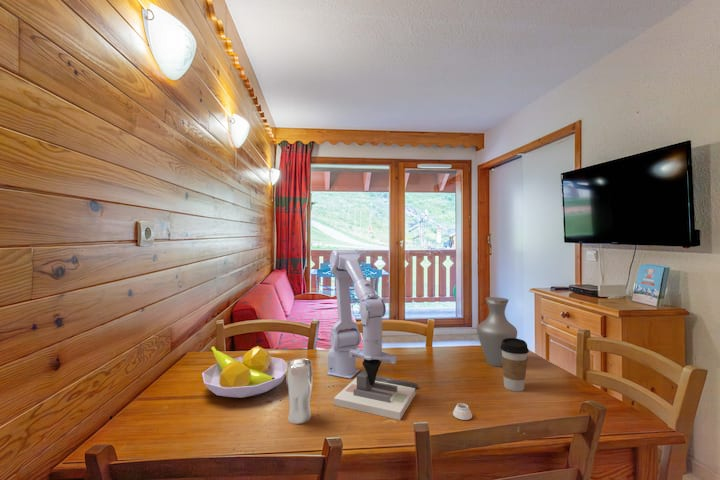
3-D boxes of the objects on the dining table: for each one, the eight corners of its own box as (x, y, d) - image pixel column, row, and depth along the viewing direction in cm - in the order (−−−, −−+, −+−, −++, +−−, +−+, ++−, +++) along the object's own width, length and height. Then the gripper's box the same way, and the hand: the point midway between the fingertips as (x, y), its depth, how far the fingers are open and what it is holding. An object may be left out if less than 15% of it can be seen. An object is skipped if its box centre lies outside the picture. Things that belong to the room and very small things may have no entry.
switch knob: (356, 392, 103) (356, 375, 102) (362, 386, 107) (363, 370, 107) (365, 394, 101) (365, 377, 101) (371, 387, 106) (371, 371, 106)
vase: (482, 354, 142) (483, 294, 142) (520, 362, 133) (521, 298, 133) (471, 365, 130) (472, 299, 130) (512, 374, 122) (512, 304, 121)
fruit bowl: (305, 386, 112) (305, 351, 112) (224, 418, 92) (224, 376, 92) (259, 364, 131) (259, 334, 131) (184, 387, 111) (184, 352, 111)
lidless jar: (459, 422, 90) (475, 419, 92) (459, 411, 90) (475, 408, 92) (449, 413, 95) (465, 410, 97) (449, 402, 95) (465, 400, 97)
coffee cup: (528, 384, 113) (528, 339, 113) (528, 395, 106) (529, 347, 105) (500, 380, 117) (501, 336, 116) (499, 390, 109) (499, 343, 109)
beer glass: (317, 413, 94) (317, 359, 94) (304, 427, 88) (304, 369, 88) (294, 409, 97) (294, 356, 96) (281, 422, 90) (281, 365, 90)
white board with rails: (333, 404, 99) (333, 392, 99) (362, 377, 119) (362, 367, 119) (399, 420, 91) (399, 407, 91) (419, 387, 111) (419, 376, 111)
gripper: (344, 339, 102) (344, 384, 102) (391, 345, 96) (391, 393, 96) (354, 333, 109) (354, 375, 109) (398, 338, 103) (398, 383, 103)
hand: (372, 383), depth 103 cm, fingers closed
